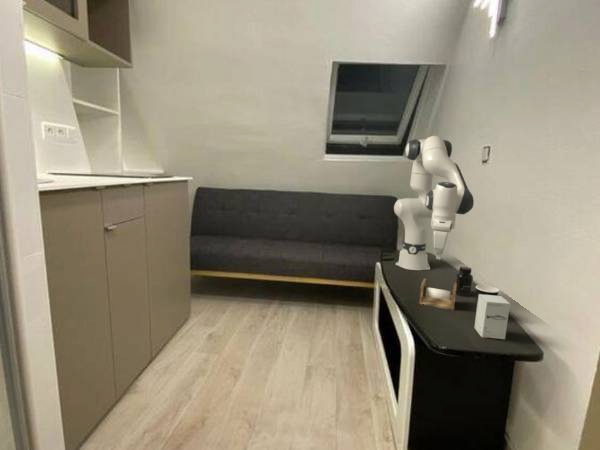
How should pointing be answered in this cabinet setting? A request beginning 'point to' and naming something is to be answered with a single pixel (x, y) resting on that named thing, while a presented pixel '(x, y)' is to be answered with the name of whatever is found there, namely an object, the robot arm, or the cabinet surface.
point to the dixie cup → (485, 291)
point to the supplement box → (492, 316)
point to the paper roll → (438, 293)
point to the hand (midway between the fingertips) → (439, 256)
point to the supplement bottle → (464, 281)
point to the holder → (435, 301)
